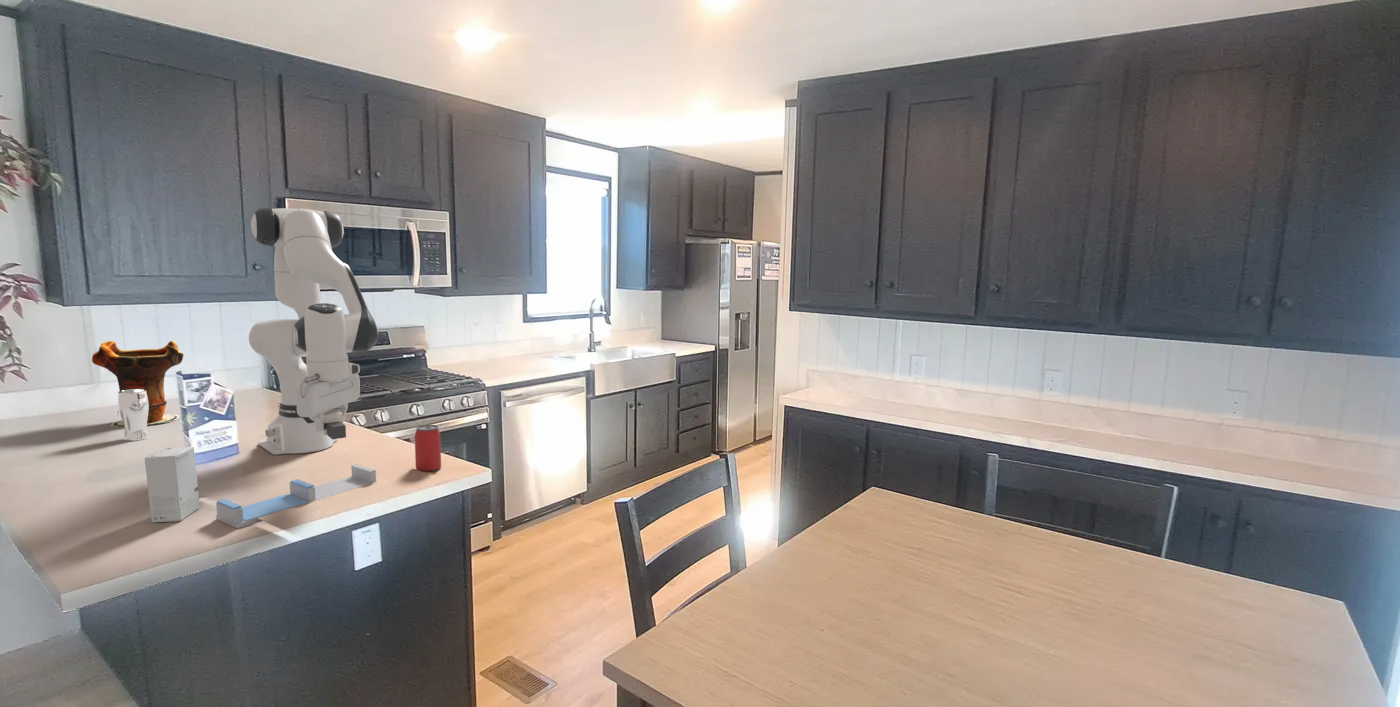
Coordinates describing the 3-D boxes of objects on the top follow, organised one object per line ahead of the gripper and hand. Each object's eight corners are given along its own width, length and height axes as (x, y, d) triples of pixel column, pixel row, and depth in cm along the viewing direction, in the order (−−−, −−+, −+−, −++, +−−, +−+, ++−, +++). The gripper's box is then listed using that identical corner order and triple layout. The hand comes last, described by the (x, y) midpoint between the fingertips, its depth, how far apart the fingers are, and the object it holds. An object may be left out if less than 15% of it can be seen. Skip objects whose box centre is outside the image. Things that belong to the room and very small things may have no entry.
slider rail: (216, 519, 143) (214, 499, 142) (356, 478, 171) (355, 462, 170) (237, 528, 138) (235, 508, 138) (377, 485, 166) (376, 468, 166)
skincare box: (181, 522, 141) (175, 456, 139) (149, 523, 139) (142, 457, 137) (201, 507, 149) (196, 445, 147) (171, 508, 148) (165, 446, 145)
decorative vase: (198, 419, 220) (185, 339, 215) (107, 435, 204) (91, 348, 199) (187, 409, 234) (175, 333, 229) (101, 422, 218) (86, 341, 213)
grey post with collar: (315, 427, 163) (314, 407, 162) (333, 424, 165) (332, 405, 165) (329, 439, 153) (328, 419, 152) (348, 437, 155) (347, 416, 154)
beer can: (445, 465, 183) (444, 424, 181) (433, 473, 177) (432, 431, 175) (423, 464, 184) (422, 423, 182) (411, 471, 177) (409, 429, 175)
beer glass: (155, 437, 200) (151, 390, 198) (126, 442, 194) (121, 394, 192) (146, 434, 204) (142, 387, 202) (118, 438, 198) (113, 391, 196)
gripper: (313, 379, 146) (317, 438, 148) (363, 364, 166) (366, 416, 169) (286, 378, 146) (290, 437, 149) (339, 363, 167) (342, 415, 169)
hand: (331, 426), depth 159 cm, fingers closed on grey post with collar, 6 cm apart
